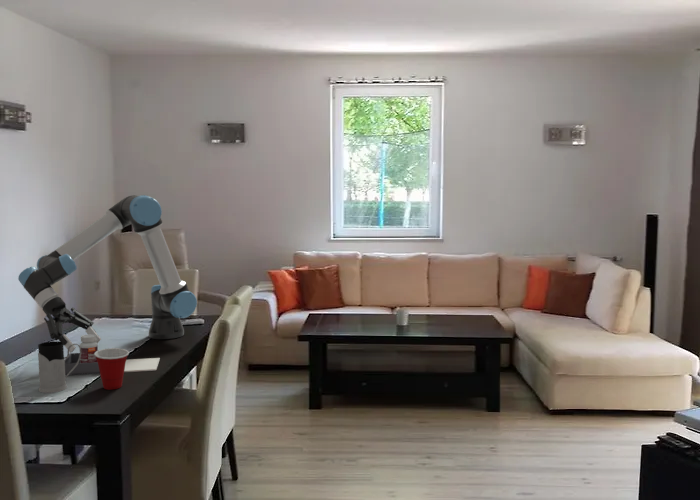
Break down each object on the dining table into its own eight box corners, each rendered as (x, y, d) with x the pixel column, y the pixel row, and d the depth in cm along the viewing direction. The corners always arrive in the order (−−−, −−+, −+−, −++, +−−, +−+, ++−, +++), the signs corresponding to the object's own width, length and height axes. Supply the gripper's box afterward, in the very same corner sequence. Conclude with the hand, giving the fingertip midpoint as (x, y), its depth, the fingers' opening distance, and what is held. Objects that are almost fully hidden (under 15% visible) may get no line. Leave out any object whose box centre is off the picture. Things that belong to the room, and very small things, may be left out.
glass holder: (34, 388, 225) (32, 344, 224) (77, 379, 235) (75, 337, 234) (44, 394, 219) (42, 348, 218) (87, 385, 229) (86, 341, 227)
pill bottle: (90, 369, 246) (89, 338, 245) (76, 367, 248) (75, 337, 247) (101, 365, 252) (100, 334, 251) (87, 363, 254) (86, 333, 252)
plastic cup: (110, 394, 219) (108, 357, 218) (88, 388, 225) (87, 353, 223) (137, 385, 228) (136, 350, 227) (115, 380, 234) (114, 346, 233)
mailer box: (159, 359, 262) (159, 348, 262) (156, 370, 246) (155, 359, 246) (70, 363, 256) (70, 353, 255) (61, 375, 240) (60, 364, 240)
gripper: (69, 303, 265) (103, 344, 262) (19, 316, 241) (55, 361, 238) (79, 290, 263) (114, 331, 259) (30, 301, 239) (67, 347, 236)
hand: (86, 345), depth 249 cm, fingers open, 13 cm apart
